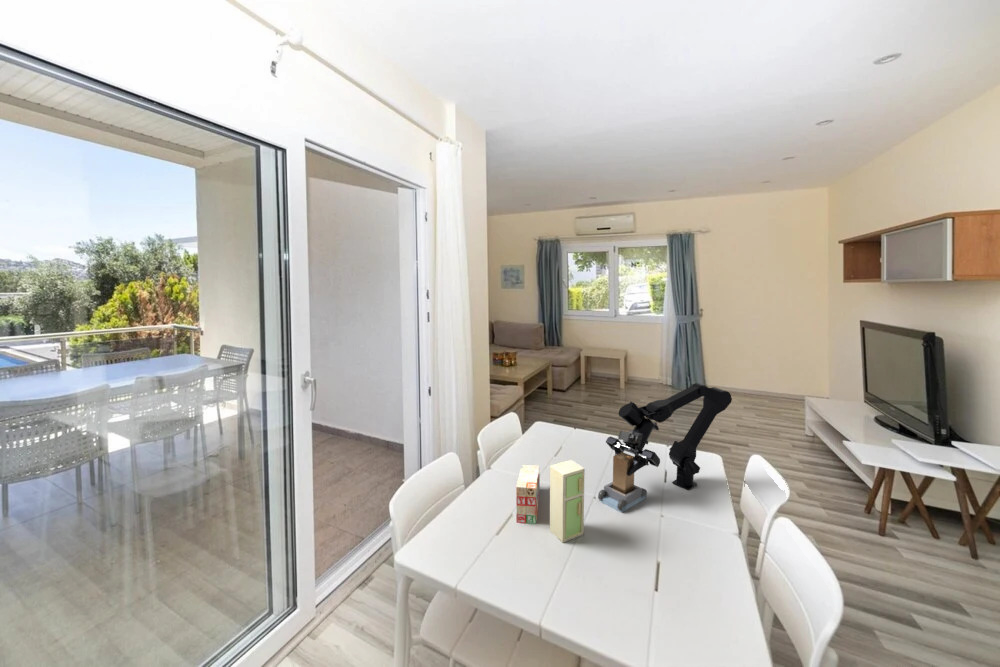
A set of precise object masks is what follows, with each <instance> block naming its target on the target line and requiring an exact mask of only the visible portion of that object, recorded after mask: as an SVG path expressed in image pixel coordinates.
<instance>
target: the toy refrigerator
mask: <svg viewBox="0 0 1000 667" xmlns="http://www.w3.org/2000/svg"><path fill="white" fill-rule="evenodd" d="M585 470H586V468H584V467H583V466H582V465H580V464H578V462H577V463H576V462H575V461H574V460H572V459H569V460H565V461H561V462H558V463H555V464H551V465H550V466H549V531H550V532H551V533H552V534H553V535H554V536H555V537H556V539H558V540H559V541H560V542H561V543H566V542H568V541H571V540H573V539H576V538H578V537H580V536H583V535H584V533H585V532H584V529H585V528H584V525H585V523H584V520H585V519H584V517H585V510H584V509H585V474H586V473H585Z"/></svg>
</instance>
